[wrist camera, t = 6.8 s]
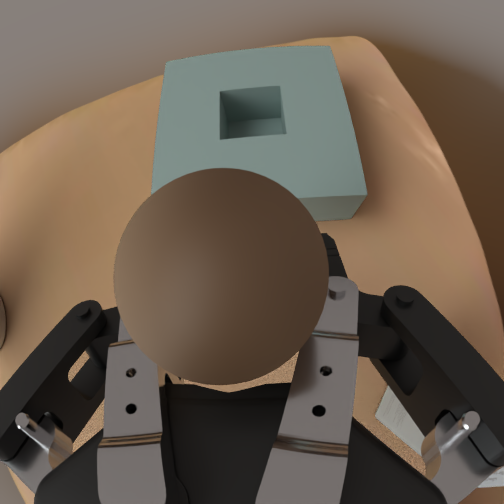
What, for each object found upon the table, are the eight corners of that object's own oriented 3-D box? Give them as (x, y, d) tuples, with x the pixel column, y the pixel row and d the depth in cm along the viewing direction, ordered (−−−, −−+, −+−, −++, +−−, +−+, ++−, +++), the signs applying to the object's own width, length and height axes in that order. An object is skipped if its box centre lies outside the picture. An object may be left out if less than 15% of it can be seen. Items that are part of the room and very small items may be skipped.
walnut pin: (224, 336, 18) (117, 379, 5) (222, 269, 19) (119, 180, 6) (293, 333, 18) (335, 378, 5) (289, 265, 18) (316, 161, 6)
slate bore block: (175, 231, 28) (150, 211, 23) (181, 96, 32) (166, 61, 26) (350, 219, 27) (367, 194, 21) (324, 83, 30) (329, 46, 25)
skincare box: (372, 416, 24) (447, 494, 9) (398, 354, 24) (500, 384, 10) (441, 431, 22) (532, 489, 8) (465, 374, 23) (572, 401, 9)
